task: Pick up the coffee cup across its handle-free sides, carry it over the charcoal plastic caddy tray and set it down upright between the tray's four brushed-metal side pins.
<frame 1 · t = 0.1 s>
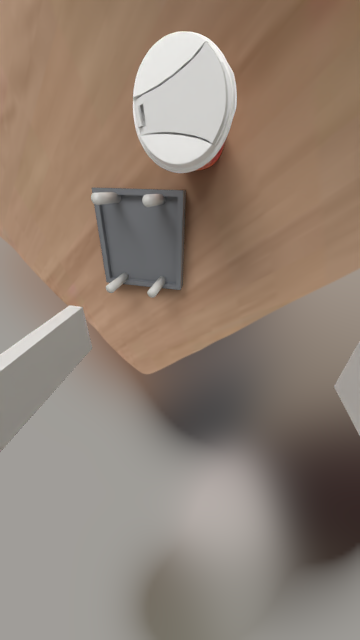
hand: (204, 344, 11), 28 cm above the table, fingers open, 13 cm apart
tray: (143, 240, 37), on the table
coffee cup: (202, 142, 29), on the table
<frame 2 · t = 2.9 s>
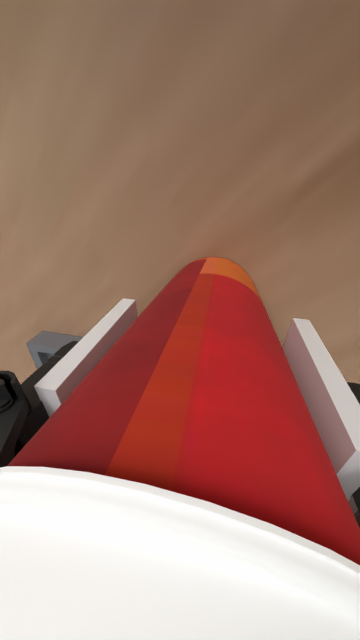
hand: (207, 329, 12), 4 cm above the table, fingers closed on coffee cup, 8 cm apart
tray: (119, 395, 24), on the table
coffee cup: (213, 296, 16), on the table, touching gripper
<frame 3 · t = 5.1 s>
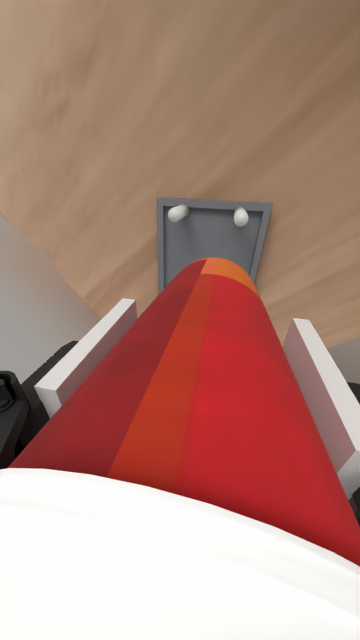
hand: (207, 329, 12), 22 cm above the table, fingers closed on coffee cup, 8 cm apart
tray: (207, 258, 32), on the table
coffee cup: (213, 296, 16), point 18 cm above the table, touching gripper
when the fingers open (6 cm above the table, at t = 7.5 s): coffee cup stays where it is, resting on tray.
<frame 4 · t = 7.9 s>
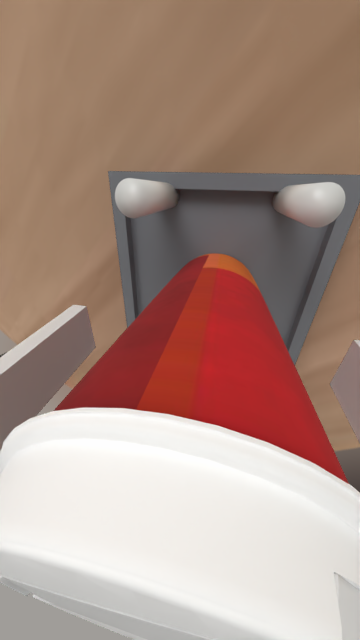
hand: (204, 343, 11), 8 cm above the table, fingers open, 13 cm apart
tray: (214, 287, 17), on the table
coffee cup: (214, 291, 16), point 1 cm above the table, touching tray
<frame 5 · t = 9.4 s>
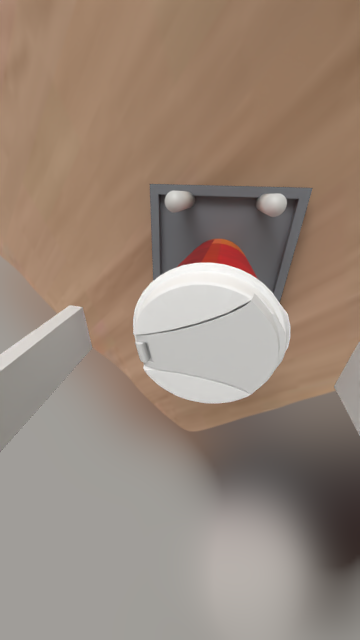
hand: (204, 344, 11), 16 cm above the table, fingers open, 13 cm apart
tray: (217, 264, 24), on the table
coffee cup: (217, 266, 24), point 1 cm above the table, touching tray
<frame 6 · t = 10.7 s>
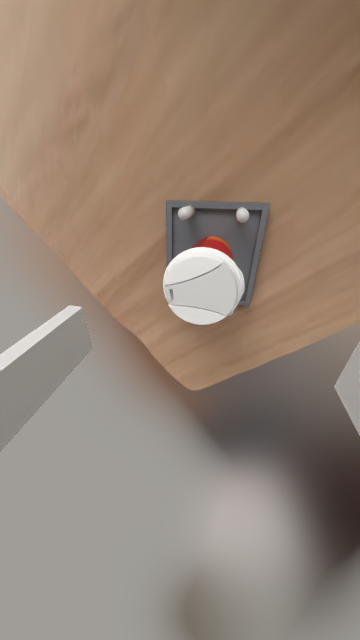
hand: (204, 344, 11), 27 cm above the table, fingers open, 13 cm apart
tray: (212, 254, 35), on the table
coffee cup: (212, 255, 34), point 1 cm above the table, touching tray
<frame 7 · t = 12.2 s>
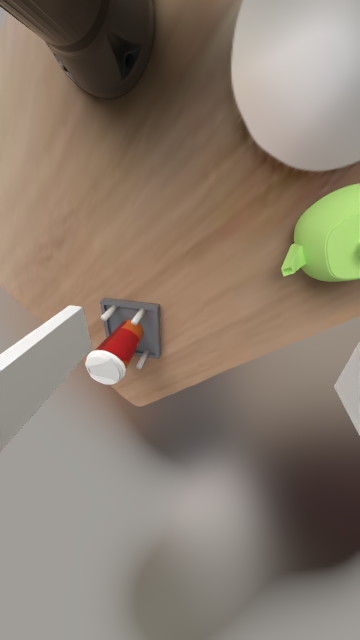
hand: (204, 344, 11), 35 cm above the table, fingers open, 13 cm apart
tray: (134, 327, 56), on the table
teapot: (332, 231, 37), on the table
coffee cup: (132, 329, 55), point 1 cm above the table, touching tray
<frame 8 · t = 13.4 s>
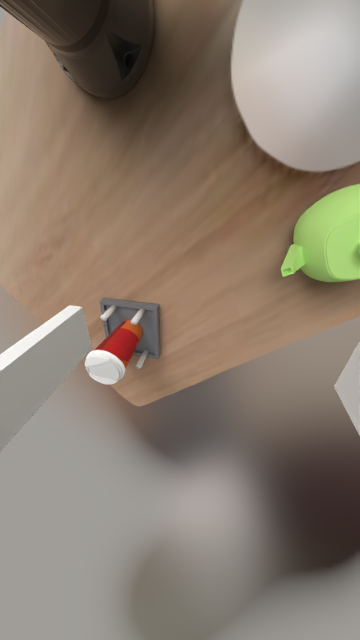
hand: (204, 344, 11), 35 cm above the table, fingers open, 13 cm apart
tray: (133, 327, 56), on the table
teapot: (331, 232, 37), on the table
coffee cup: (132, 329, 55), point 1 cm above the table, touching tray
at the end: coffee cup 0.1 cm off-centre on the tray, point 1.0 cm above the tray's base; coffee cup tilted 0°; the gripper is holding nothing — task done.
